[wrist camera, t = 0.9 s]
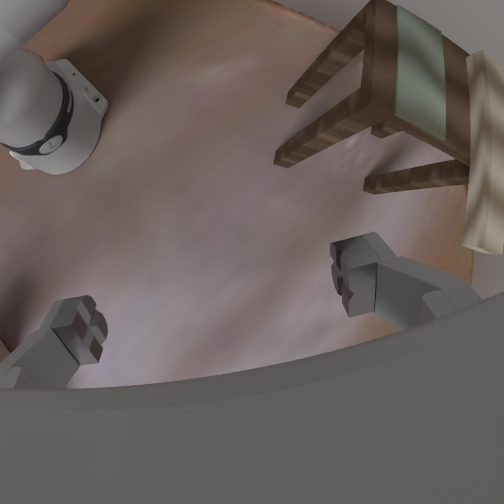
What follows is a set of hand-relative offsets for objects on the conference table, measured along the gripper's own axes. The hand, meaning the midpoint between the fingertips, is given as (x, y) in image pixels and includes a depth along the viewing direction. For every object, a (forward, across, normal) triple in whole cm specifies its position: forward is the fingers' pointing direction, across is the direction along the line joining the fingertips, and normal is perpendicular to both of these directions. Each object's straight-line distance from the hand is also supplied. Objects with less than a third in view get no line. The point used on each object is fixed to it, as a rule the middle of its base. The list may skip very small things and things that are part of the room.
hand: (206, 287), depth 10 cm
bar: (+17, -27, +3) cm, 32 cm away
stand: (+46, -19, +9) cm, 50 cm away
